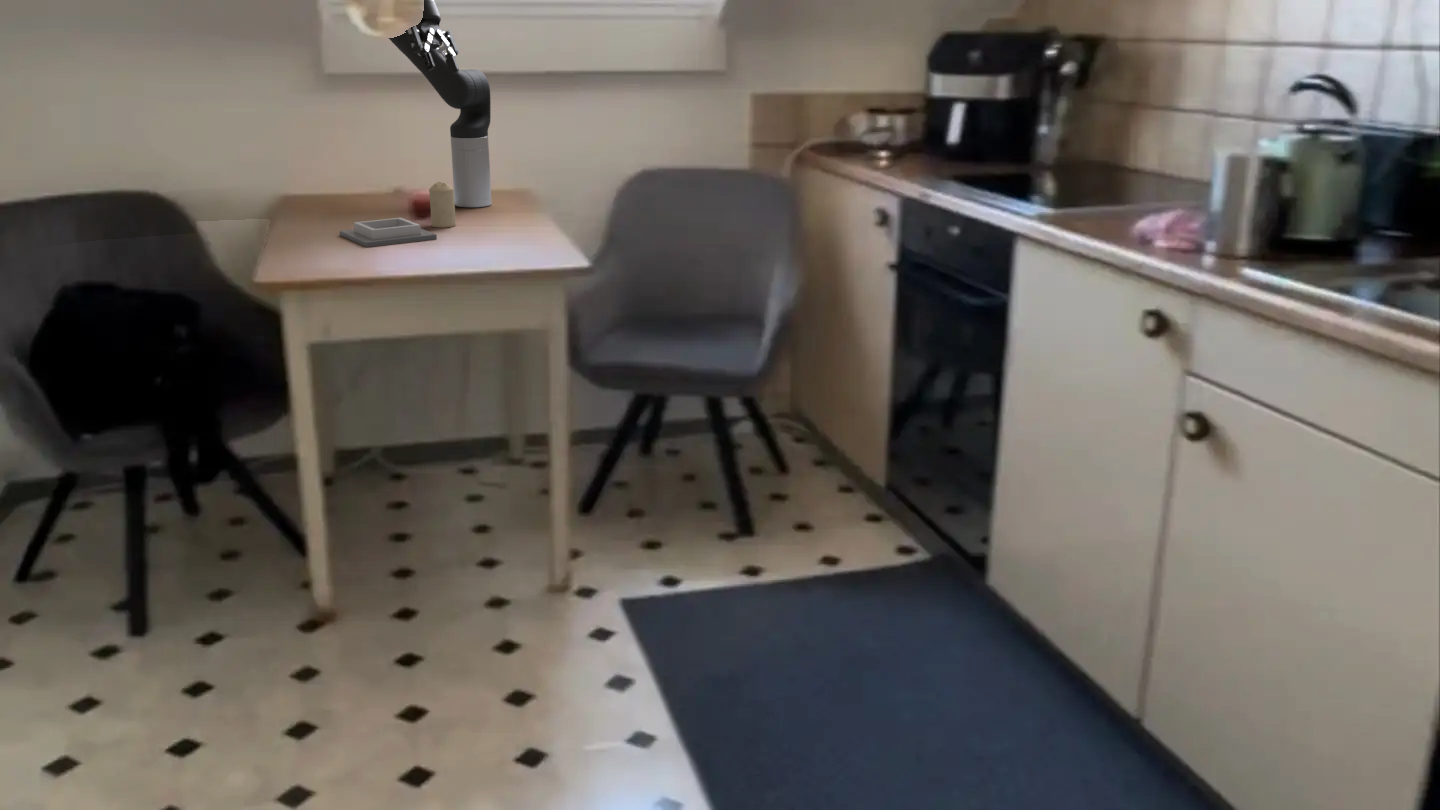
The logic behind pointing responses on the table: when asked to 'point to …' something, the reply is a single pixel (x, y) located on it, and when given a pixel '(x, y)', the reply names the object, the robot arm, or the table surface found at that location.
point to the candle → (442, 205)
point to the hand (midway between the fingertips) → (443, 71)
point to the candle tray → (386, 232)
